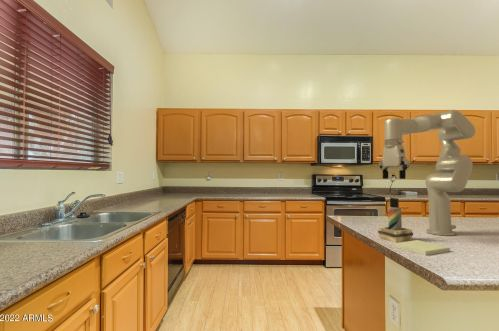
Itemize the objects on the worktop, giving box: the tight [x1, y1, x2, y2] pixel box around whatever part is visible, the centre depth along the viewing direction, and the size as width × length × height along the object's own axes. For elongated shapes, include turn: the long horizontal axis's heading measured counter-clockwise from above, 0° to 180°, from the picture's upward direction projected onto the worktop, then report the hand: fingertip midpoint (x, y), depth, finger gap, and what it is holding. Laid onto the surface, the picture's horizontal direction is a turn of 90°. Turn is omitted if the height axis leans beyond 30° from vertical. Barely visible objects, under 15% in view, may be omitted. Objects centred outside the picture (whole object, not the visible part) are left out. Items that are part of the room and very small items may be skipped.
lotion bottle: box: [387, 197, 403, 231], centre depth 132 cm, size 6×6×20 cm
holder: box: [377, 226, 414, 243], centre depth 132 cm, size 11×11×5 cm
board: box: [394, 239, 451, 256], centre depth 114 cm, size 14×14×2 cm
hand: (393, 178), depth 133 cm, fingers open, 9 cm apart
